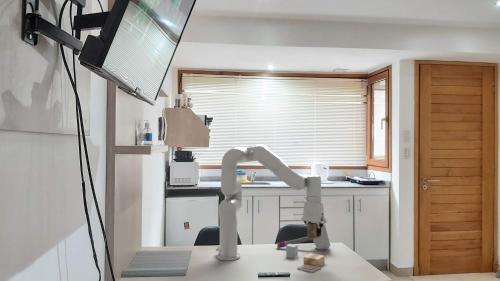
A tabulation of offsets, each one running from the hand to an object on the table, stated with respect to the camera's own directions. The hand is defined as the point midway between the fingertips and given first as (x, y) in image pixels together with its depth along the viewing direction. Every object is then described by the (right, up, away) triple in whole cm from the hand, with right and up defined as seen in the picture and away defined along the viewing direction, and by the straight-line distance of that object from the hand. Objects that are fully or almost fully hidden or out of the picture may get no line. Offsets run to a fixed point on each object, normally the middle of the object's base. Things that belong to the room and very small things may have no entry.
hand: (314, 234), depth 185 cm
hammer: (-2, -16, +28) cm, 32 cm away
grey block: (-10, -15, +13) cm, 22 cm away
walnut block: (0, -1, 0) cm, 1 cm away
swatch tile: (-4, -14, -9) cm, 18 cm away
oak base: (0, -15, 0) cm, 15 cm away
